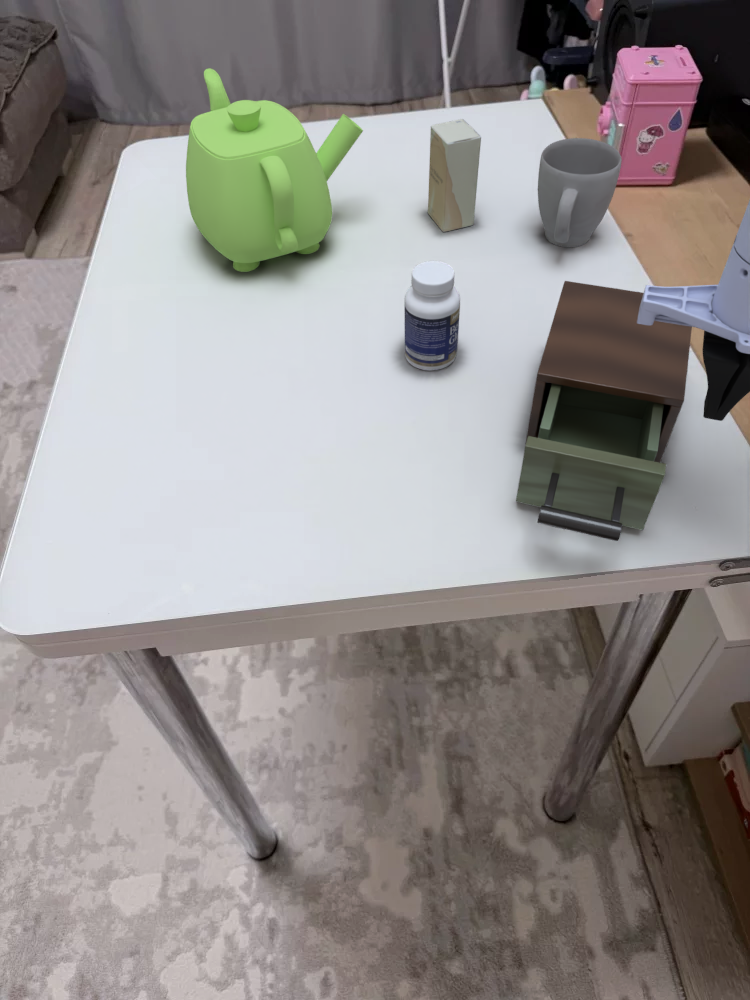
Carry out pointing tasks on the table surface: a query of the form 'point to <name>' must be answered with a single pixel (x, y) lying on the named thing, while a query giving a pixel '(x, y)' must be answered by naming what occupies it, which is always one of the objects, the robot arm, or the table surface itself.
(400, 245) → the table surface
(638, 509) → the drawer
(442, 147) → the box
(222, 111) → the teapot
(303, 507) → the table surface
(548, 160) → the mug
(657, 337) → the cabinet
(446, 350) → the pill bottle
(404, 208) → the table surface
